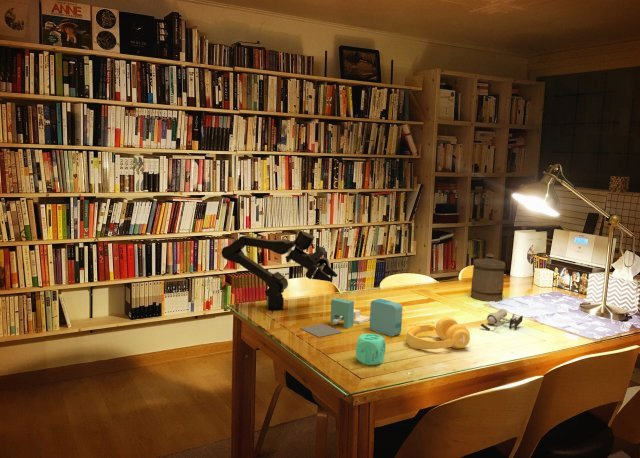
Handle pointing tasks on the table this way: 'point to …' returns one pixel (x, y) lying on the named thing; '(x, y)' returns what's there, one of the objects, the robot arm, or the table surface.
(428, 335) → the table surface
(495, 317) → the clip-on lamp
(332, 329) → the grey mat
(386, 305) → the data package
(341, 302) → the teal arch block
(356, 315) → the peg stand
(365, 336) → the decorative dice
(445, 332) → the headset
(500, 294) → the wooden container
